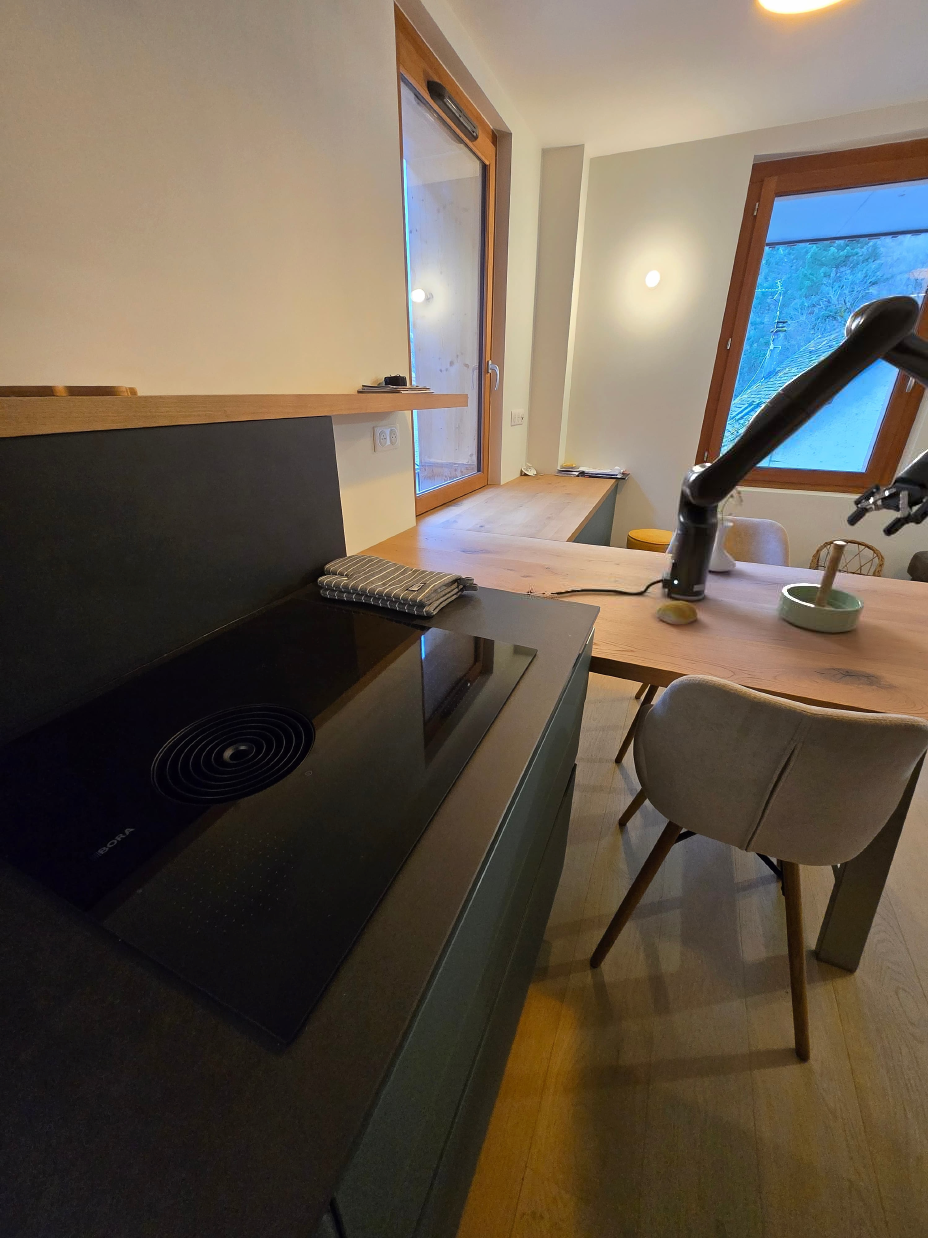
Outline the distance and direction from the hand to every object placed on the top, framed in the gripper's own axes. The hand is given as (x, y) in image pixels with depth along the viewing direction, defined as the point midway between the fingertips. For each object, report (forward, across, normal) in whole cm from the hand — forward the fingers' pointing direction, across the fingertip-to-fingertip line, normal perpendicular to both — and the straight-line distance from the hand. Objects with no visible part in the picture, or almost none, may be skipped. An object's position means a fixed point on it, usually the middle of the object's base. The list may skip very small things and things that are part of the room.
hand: (866, 528), depth 108 cm
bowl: (+20, 0, +11) cm, 22 cm away
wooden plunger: (+19, 0, +10) cm, 22 cm away
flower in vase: (+19, -38, +12) cm, 44 cm away
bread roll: (+42, -9, -11) cm, 44 cm away
